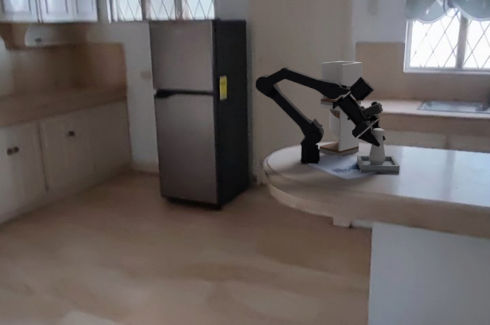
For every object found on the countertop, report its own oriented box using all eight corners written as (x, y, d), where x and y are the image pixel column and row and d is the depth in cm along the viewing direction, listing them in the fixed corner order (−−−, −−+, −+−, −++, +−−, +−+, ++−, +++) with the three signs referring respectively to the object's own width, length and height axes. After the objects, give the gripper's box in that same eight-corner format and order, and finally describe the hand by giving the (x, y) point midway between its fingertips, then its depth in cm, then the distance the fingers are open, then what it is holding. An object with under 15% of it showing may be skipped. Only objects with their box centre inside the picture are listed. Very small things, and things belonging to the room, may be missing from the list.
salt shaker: (384, 162, 183) (386, 127, 180) (386, 166, 178) (388, 130, 174) (367, 162, 184) (369, 127, 181) (369, 166, 179) (371, 130, 175)
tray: (360, 172, 176) (361, 165, 175) (356, 161, 188) (357, 155, 187) (399, 172, 174) (399, 166, 174) (392, 162, 187) (393, 155, 186)
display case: (338, 146, 211) (341, 60, 201) (358, 151, 203) (362, 62, 193) (319, 151, 204) (321, 62, 194) (339, 156, 196) (343, 64, 186)
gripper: (362, 98, 168) (394, 134, 166) (375, 91, 184) (404, 123, 182) (338, 120, 173) (369, 154, 172) (352, 111, 189) (381, 142, 188)
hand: (382, 143), depth 178 cm, fingers open, 9 cm apart
